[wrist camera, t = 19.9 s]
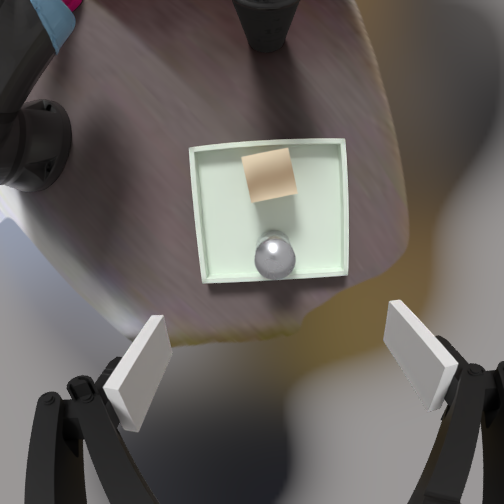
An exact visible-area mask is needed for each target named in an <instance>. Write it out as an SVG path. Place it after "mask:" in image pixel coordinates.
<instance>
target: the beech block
mask: <svg viewBox="0 0 504 504" xmlns="http://www.w3.org/2000/svg"><path fill="white" fill-rule="evenodd" d="M241 159H242V163H243V168H244V172H245V177H246V181H247V186H248V190H249V195H250V199H251V203H254V202H259V201H263V200H268V199H273V198H278V197H283V196H288V195H293V194H298V192H297V187H296V182H295V177H294V173H293V168H292V163H291V159H290V154H289V150H288V148H283V149H278V150H273V151H268V152H263V153H258V154H253V155H248V156H244V157H241Z"/></svg>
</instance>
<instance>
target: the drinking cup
mask: <svg viewBox="0 0 504 504" xmlns="http://www.w3.org/2000/svg"><path fill="white" fill-rule="evenodd" d="M299 1H300V0H232V2H233V4H234V7H235V9H236V12H237V14H238V16H239V19H240V22H241V24H242V27H243V29H244V32H245V34H246V37H247V40H248V42H249V44H250V46H251V47H252V48H253V49H255V50H257V51H260V52H273V51H276V50H278V49H279V48H280V47H281V46H282V45H283V43H284V41H285V38H286V35H287V33H288V30H289V27H290V25H291V22H292V19H293V17H294V14H295V12H296V9H297V6H298V4H299Z"/></svg>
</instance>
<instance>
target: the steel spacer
mask: <svg viewBox="0 0 504 504" xmlns="http://www.w3.org/2000/svg"><path fill="white" fill-rule="evenodd" d="M254 261H255V266H256V269H257V271H258V272H259V273H260V274H261V275H262V276H263V277H265V278H267V279H271V280H279V279H283V278H285V277H287V276H288V275H289V274H290V273H291V272H292V271H293V269H294V267H295V263H296V257H295V253H294V250H293V248H292V245H291V242H290V240H289V238H288V236H287V235H286V234H285V233H283V232H281V231H279V230H268V231H266V232H264V233H263V234H262V235H261V236H260V237H259V238H258V240H257V244H256V251H255V259H254Z"/></svg>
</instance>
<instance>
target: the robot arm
mask: <svg viewBox="0 0 504 504" xmlns="http://www.w3.org/2000/svg"><path fill="white" fill-rule="evenodd" d="M75 23H76V20H75V17H74V15H73V13H72V12H71V10H70V9H69V8H68V7H67V6H66V5H65V4H64V3H63V2H62V1H61V0H0V185H6V186H9V187H12V188H15V189H17V190H20V191H24V192H35V191H41V190H44V189H46V188H47V187H49V186H50V185H51V184H52V183H53V182H54V181H55V180H56V179H57V178H58V176H59V175H60V173H61V171H62V170H63V168H64V165H65V163H66V160H67V157H68V154H69V149H70V143H71V127H70V121H69V118H68V115H67V113H66V111H65V109H64V108H63V107H62V106H61V105H60V104H58V103H57V102H54V101H50V100H45V99H39V100H34V101H30V102H26V103H24V102H25V100H26V99H27V97H28V95H29V94H30V92H31V90H32V89H33V87H34V86H35V84H36V82H37V81H38V79H39V78H40V76H41V75H42V73H43V72H44V70H45V69H46V68H47V66H48V65H49V63H50V62H51V61H52V59H53V58H54V56H55V55H57V54H58V53H59V49H60V48H61V46H62V45H63V44H64V42H65V41H66V39H67V38H68V37H69V35H70V34H71V33H72V31H73V30H74V28H75ZM383 341H384V342H385V344H386V346H387V347H388V349H389V350H390V352H391V353H392V355H393V356H394V358H395V360H396V361H397V363H398V364H399V366H400V368H401V369H402V371H403V372H404V374H405V376H406V377H407V379H408V381H409V382H410V384H411V385H412V387H413V389H414V390H415V392H416V394H417V395H418V397H419V399H420V400H421V402H422V404H423V406H424V407H425V409H426V410H427V412H431V411H434V410H437V409H440V408H441V406H442V403H443V401H444V399H445V401H446V402H447V404H448V405H447V407H446V409H445V411H444V414H443V415H442V418H441V420H442V422H441V426H440V428H439V432H438V434H437V438H436V440H435V443H434V446H433V448H432V451H431V453H430V456H429V458H428V461H427V463H426V466H425V468H424V470H423V473H422V475H421V478H420V479H419V482H418V484H417V486H416V488H415V490H414V492H413V494H412V496H411V498H410V500H409V502H408V504H460V499H461V496H462V493H463V490H464V488H465V484H466V481H467V478H468V475H469V471H470V468H471V464H472V460H473V456H474V452H475V448H476V443H477V438H478V433H479V428H480V423H481V431H482V444H483V472H484V473H483V501H482V504H504V361H502V362H500V363H499V364H498V367H497V369H496V370H492V371H485V369H484V368H483V367H482V366H480V365H478V364H472V363H470V364H468V363H467V361H466V360H465V359H464V358H463V357H462V356H461V355H460V354H459V352H458V351H456V350H455V348H454V347H453V346H451V344H450V343H449V342H448V341H447V340H446V339H445V338H443V337H441V336H434V335H433V334H432V333H431V332H430V331H429V330H428V329H427V328H426V326H425V325H424V324H423V323H422V322H421V321H420V320H419V319H418V318H417V317H416V316H415V315H414V314H413V313H412V312H411V311H410V309H408V308H407V306H406V305H405V304H404V303H403V302H402V301H401V300H394V301H389V306H388V313H387V320H386V326H385V333H384V339H383ZM172 354H173V353H172V349H171V345H170V341H169V337H168V333H167V328H166V324H165V319H164V315H151V317H150V318H149V320H148V321H147V323H146V324H145V325H144V327H143V328H142V330H141V331H140V333H139V334H138V336H137V337H136V338H135V340H134V341H133V343H132V344H131V346H130V347H129V349H128V350H127V352H126V353H125V355H124V356H123V357H116V358H115V359H113V360H112V361H110V362H109V364H108V365H107V367H106V369H105V370H104V371H103V372H102V374H101V375H100V377H99V378H98V380H97V381H96V382H95V384H94V382H93V380H92V378H91V377H89V376H84V375H82V376H77V377H75V378H73V379H72V380H70V381H69V382H68V384H67V390H68V392H69V394H70V396H71V398H72V399H70V400H62V398H61V397H60V395H59V394H58V393H56V392H47V393H45V394H43V395H42V396H41V397H40V398H39V399H38V402H37V406H36V411H35V416H34V421H33V426H32V432H31V438H30V445H29V452H28V460H27V469H26V482H25V504H87V499H86V490H85V479H84V460H83V439H85V442H86V444H87V448H88V450H89V454H90V456H91V459H92V462H93V464H94V467H95V469H96V472H97V474H98V477H99V479H100V481H101V484H102V486H103V489H104V491H105V493H106V495H107V497H108V499H109V502H110V504H160V503H159V502H158V500H157V499H156V497H155V496H154V494H153V492H152V491H151V490H150V488H149V486H148V484H147V483H146V481H145V479H144V478H143V476H142V474H141V473H140V471H139V469H138V467H137V466H136V464H135V462H134V460H133V458H132V456H131V455H130V453H129V451H128V449H127V447H126V445H125V443H124V441H123V439H122V437H121V435H120V433H119V431H118V429H117V427H118V425H119V423H121V425H122V427H123V429H124V430H128V431H133V432H139V430H140V427H141V425H142V423H143V420H144V418H145V416H146V413H147V411H148V409H149V406H150V404H151V402H152V399H153V397H154V395H155V393H156V390H157V388H158V386H159V383H160V381H161V379H162V377H163V374H164V372H165V370H166V367H167V365H168V363H169V361H170V358H171V356H172Z"/></svg>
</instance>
